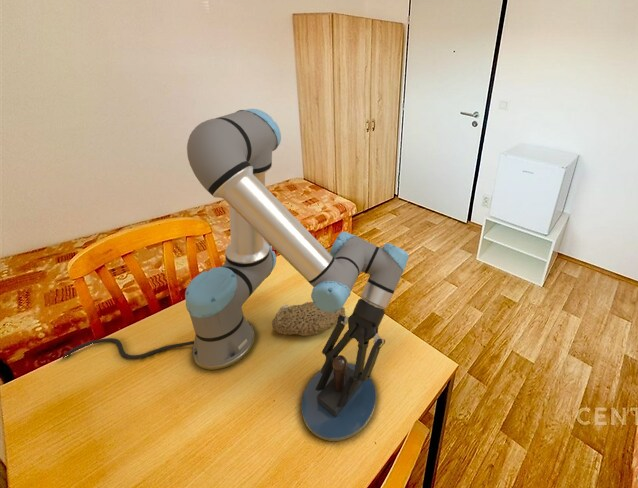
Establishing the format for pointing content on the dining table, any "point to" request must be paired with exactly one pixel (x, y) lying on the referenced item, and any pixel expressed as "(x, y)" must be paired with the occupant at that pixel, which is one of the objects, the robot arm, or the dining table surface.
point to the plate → (348, 418)
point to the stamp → (336, 386)
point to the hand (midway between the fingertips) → (330, 397)
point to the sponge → (304, 319)
